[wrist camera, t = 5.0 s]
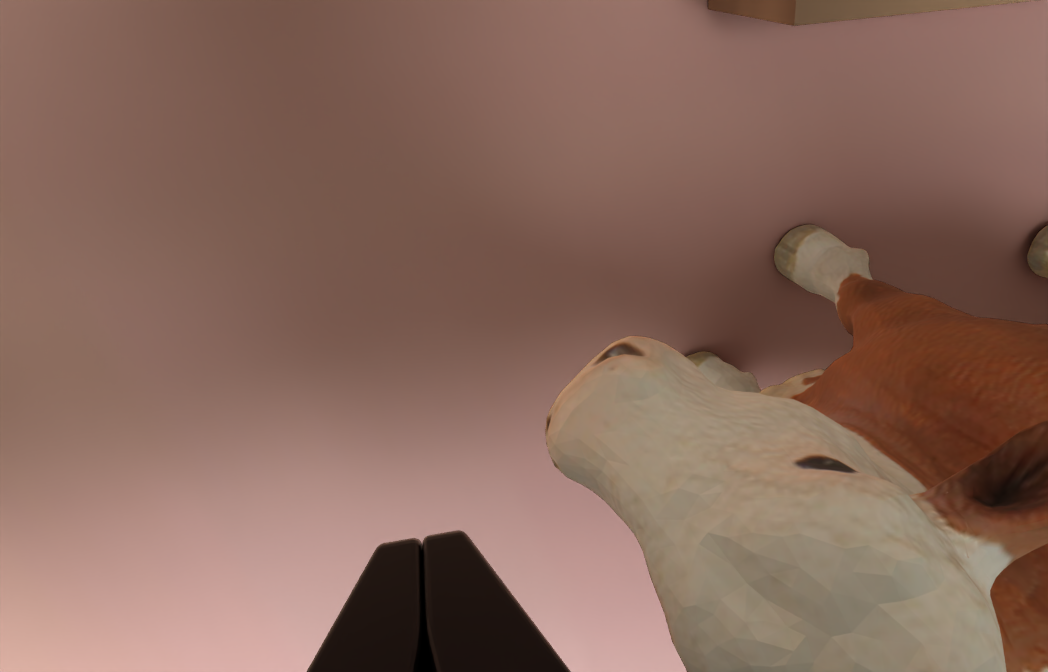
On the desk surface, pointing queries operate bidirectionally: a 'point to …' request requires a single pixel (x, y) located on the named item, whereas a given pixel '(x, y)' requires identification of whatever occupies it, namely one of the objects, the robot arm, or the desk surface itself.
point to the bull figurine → (834, 484)
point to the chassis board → (838, 8)
